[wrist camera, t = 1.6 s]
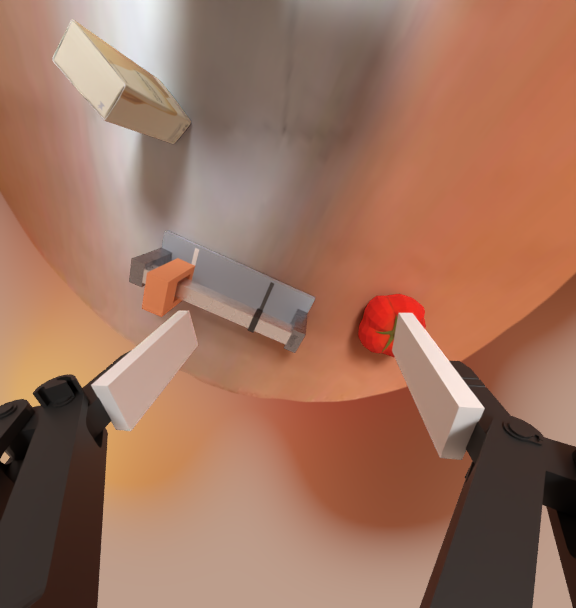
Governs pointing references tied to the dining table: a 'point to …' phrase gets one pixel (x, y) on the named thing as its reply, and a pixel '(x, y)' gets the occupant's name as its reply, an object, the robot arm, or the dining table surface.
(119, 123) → the skincare box
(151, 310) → the collar
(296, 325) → the rail
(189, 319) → the robot arm
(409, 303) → the tomato
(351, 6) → the dining table surface
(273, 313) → the board
